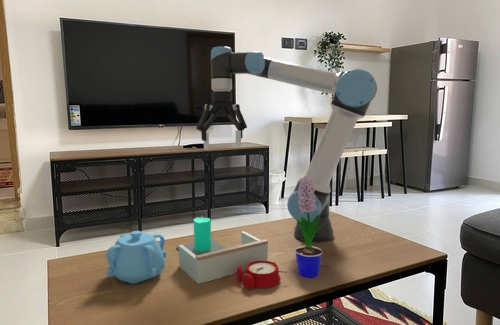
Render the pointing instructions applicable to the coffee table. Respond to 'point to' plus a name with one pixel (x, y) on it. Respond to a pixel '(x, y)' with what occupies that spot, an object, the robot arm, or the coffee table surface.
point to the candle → (202, 234)
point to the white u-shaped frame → (223, 259)
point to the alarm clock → (259, 275)
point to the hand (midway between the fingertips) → (222, 148)
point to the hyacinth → (308, 231)
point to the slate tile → (214, 247)
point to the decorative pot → (136, 257)
